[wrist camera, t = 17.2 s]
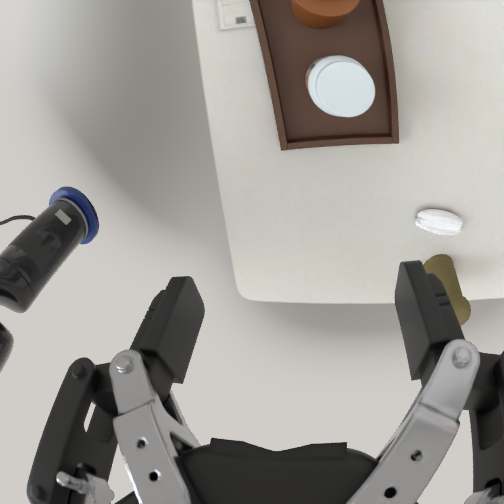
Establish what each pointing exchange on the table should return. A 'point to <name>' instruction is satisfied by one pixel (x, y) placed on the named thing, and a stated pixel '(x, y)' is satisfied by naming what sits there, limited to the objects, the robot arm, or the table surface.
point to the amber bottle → (322, 11)
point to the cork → (449, 284)
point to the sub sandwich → (439, 222)
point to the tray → (315, 47)
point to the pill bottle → (340, 86)
